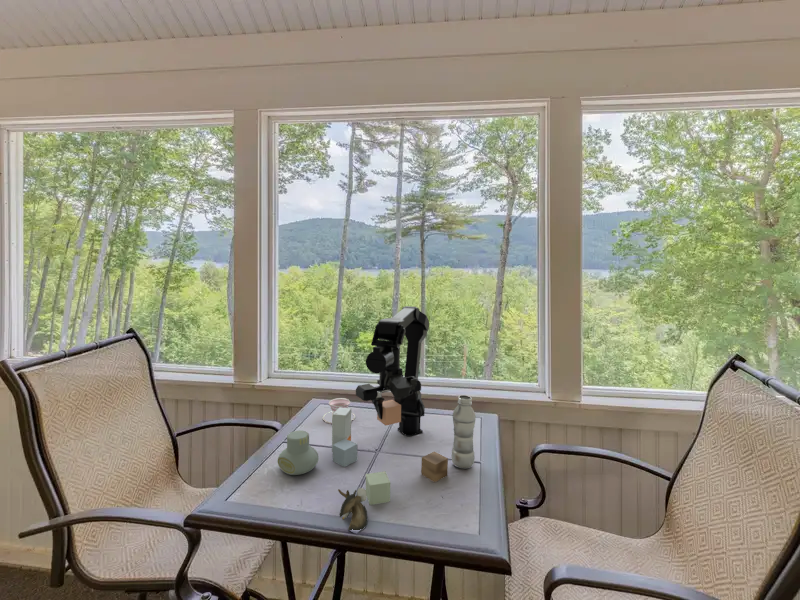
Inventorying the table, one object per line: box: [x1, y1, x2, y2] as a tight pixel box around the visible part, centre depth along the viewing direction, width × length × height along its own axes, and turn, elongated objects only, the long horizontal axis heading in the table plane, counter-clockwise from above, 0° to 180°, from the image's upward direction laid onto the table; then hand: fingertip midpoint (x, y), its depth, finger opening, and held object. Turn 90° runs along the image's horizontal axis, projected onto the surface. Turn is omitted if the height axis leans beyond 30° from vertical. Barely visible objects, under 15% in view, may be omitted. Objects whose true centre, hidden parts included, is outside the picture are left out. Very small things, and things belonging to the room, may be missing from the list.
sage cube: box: [365, 471, 391, 506], centre depth 94 cm, size 5×5×5 cm
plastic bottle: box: [451, 394, 477, 470], centre depth 109 cm, size 6×7×20 cm
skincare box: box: [331, 407, 352, 453], centre depth 117 cm, size 6×4×12 cm
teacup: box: [322, 397, 356, 425], centre depth 141 cm, size 12×12×6 cm
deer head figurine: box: [337, 487, 368, 530], centre depth 86 cm, size 8×7×9 cm
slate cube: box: [332, 439, 358, 467], centre depth 111 cm, size 5×5×5 cm
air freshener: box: [277, 430, 320, 476], centre depth 106 cm, size 11×8×10 cm
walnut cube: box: [420, 451, 449, 483], centre depth 104 cm, size 5×5×5 cm
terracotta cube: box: [376, 399, 401, 426], centre depth 110 cm, size 5×5×5 cm
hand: (388, 417), depth 110 cm, fingers closed on terracotta cube, 5 cm apart
